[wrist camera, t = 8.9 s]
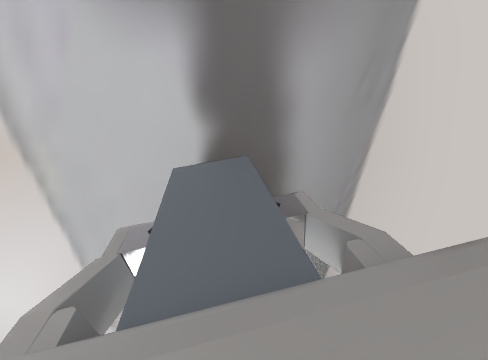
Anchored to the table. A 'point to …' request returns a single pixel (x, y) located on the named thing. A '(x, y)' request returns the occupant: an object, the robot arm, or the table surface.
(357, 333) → the robot arm
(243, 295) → the end domino
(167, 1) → the table surface
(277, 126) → the table surface
